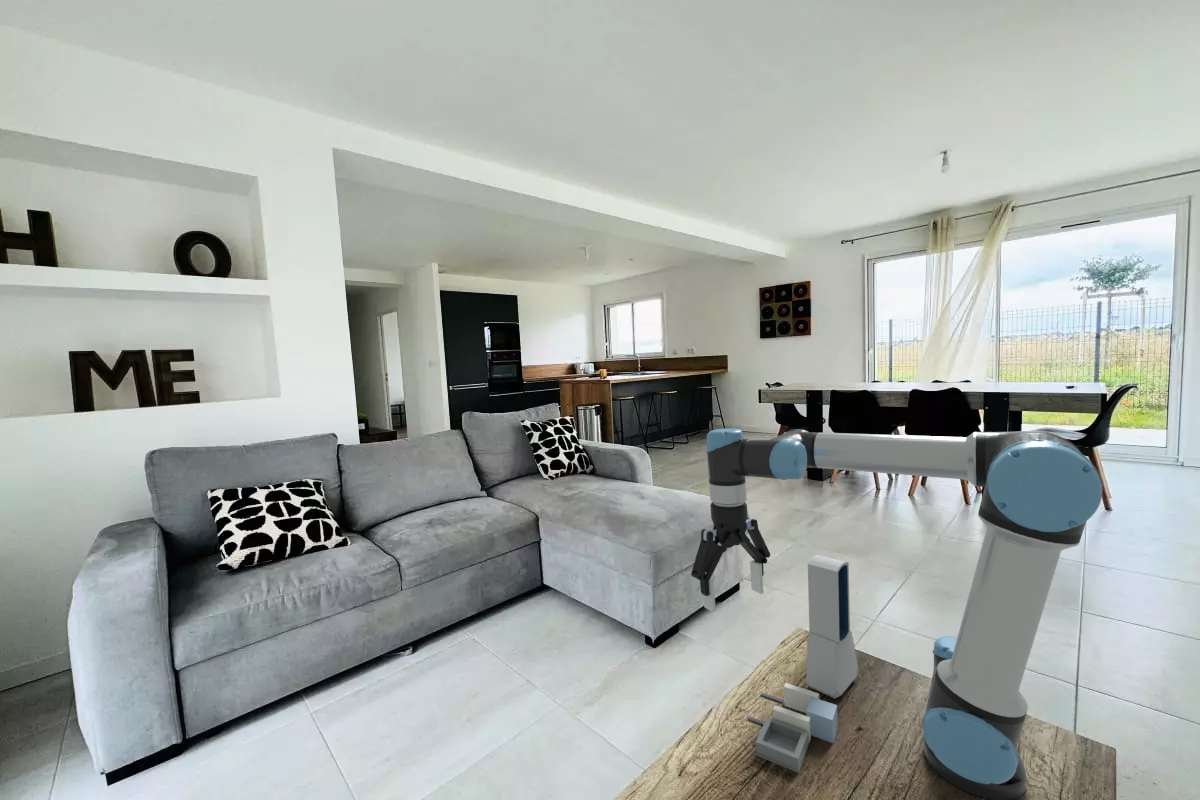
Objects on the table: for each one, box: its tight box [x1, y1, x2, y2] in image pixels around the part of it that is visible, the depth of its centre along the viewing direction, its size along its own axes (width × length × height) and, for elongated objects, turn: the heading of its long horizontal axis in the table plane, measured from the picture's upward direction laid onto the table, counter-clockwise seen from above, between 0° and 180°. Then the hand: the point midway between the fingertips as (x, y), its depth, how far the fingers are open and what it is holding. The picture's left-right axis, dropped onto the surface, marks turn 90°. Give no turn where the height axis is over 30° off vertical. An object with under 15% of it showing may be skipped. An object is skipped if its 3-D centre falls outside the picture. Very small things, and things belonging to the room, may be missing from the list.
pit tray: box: [755, 716, 810, 774], centre depth 96 cm, size 8×8×3 cm
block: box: [805, 697, 839, 744], centre depth 101 cm, size 5×5×5 cm
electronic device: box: [805, 554, 859, 699], centre depth 114 cm, size 12×8×30 cm, turn 133°
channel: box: [772, 682, 820, 744], centre depth 104 cm, size 7×10×4 cm
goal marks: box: [747, 692, 784, 726], centre depth 108 cm, size 5×10×1 cm, turn 145°
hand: (734, 600), depth 104 cm, fingers open, 13 cm apart
